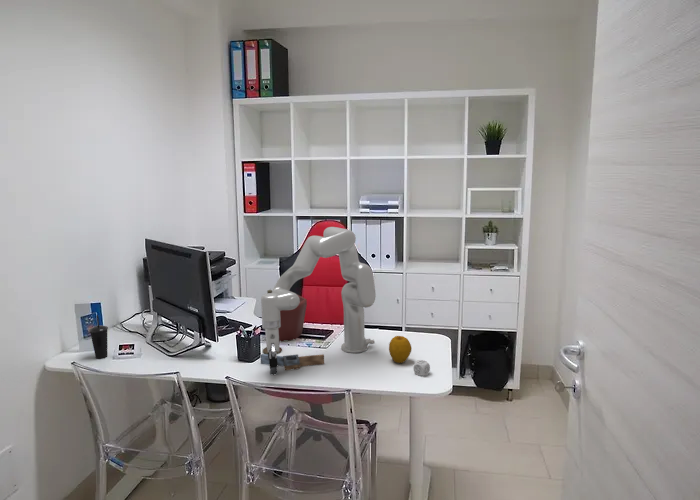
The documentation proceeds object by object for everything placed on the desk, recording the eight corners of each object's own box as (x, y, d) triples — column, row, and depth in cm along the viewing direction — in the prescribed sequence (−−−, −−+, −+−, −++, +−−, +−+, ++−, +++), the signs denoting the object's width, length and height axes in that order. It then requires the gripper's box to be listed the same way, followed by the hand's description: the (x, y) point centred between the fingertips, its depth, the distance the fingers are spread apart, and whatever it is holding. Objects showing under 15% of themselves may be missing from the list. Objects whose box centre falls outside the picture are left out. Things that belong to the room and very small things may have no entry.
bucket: (265, 328, 268) (263, 282, 263) (306, 326, 270) (305, 280, 266) (262, 345, 244) (260, 295, 239) (308, 342, 246) (306, 293, 242)
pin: (277, 371, 214) (276, 349, 212) (277, 374, 211) (276, 351, 209) (269, 372, 213) (268, 349, 211) (270, 375, 210) (269, 352, 209)
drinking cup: (114, 355, 234) (110, 313, 230) (100, 361, 227) (95, 318, 224) (103, 352, 237) (98, 311, 234) (88, 358, 230) (83, 316, 227)
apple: (414, 359, 224) (414, 334, 222) (405, 367, 216) (406, 341, 214) (394, 355, 229) (394, 331, 227) (385, 363, 220) (385, 337, 218)
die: (430, 373, 210) (430, 362, 209) (423, 377, 206) (423, 365, 206) (420, 370, 213) (420, 359, 212) (413, 374, 210) (413, 362, 209)
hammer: (321, 356, 229) (321, 348, 228) (325, 366, 218) (325, 357, 218) (260, 362, 223) (260, 353, 223) (261, 372, 213) (261, 363, 212)
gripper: (282, 329, 200) (283, 370, 204) (278, 316, 217) (280, 354, 220) (263, 331, 199) (264, 371, 202) (261, 317, 216) (262, 355, 219)
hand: (272, 362), depth 211 cm, fingers open, 9 cm apart
